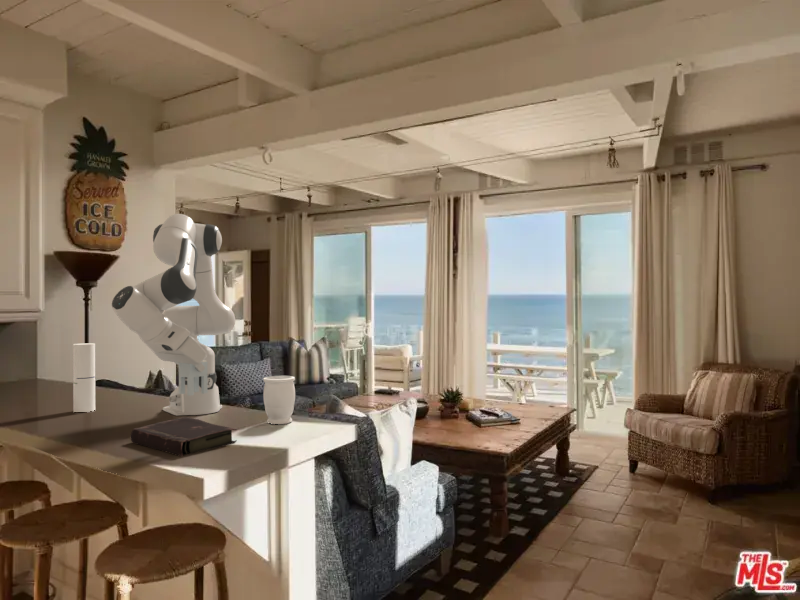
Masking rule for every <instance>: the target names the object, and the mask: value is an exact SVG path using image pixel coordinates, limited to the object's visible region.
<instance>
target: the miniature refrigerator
mask: <svg viewBox="0 0 800 600" xmlns="http://www.w3.org/2000/svg"><path fill="white" fill-rule="evenodd" d="M72 350H73V351H72V368H73V369H72V372H73V373H72V374H73V375H72V380H73V381H72V382H73V383H72V386H73V388H72V389H73V390H72V395H73V397H72V399H73V400H72V403H73V405H72V406H73V409H72V411H73V413H74V412H87V413H91V412H90V411H92V412H95V411H96V343H95V342H93V343H92V342H91V343H90V342H89V343H73V344H72ZM94 410H95V411H94Z"/></svg>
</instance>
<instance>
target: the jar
mask: <svg viewBox="0 0 800 600" xmlns="http://www.w3.org/2000/svg"><path fill="white" fill-rule="evenodd" d="M294 381H296V376H292V375H272V376H266V377H263V382H264V387H263V394H262V395H263V404H264V409H265V414H266V416H267V420H266V423H267V422H269V423H272V424H271V425H275V424H278V425H286V424H290V423H292V422H293V418H292V417H291V416H292V415H293V412H294V408H295V401H296V388H295V384H294ZM269 423H268V424H269Z"/></svg>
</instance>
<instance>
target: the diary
mask: <svg viewBox="0 0 800 600" xmlns="http://www.w3.org/2000/svg"><path fill="white" fill-rule="evenodd" d="M232 431H237V428H234V427H229V426H225V425H220V424H215V423H210V422H207V421H204V420H202V419H199V418H193V417H188V416H184V417H179V418H173V419H169V420H164V421H159V422H155V423H151V424H148V425H143V426H140V427H135V428H132V430H131V432H130V441H131V443H132V442H133V443H132V444H136V445H139V446H144V447H148V448H150V449H153V448H154V450H157V449H159V450H158V451H161V450H163V451H162V452H165V451H167V452H166V453H168V452H170V453H169V454H172V453H173V455H175V454H176V456H178V455H179V457H184V455H189V454H192V453H197V452H200V451H204V450H209V449H210V450H212V449H217V448H220V447H225V446H228V445H232V444H235V443H236V442H237V441H238V440H237V439H236V440H233V437H232V436H233V434H232ZM188 452H189V453H188Z"/></svg>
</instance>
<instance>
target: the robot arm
mask: <svg viewBox="0 0 800 600" xmlns="http://www.w3.org/2000/svg"><path fill="white" fill-rule="evenodd" d="M222 237H223V236H222V233H221V230H220V229H219V227H217V225H214V224H210V223H209V224H208V223H206V224H203V223H196V222H194V220H193V219H192V218H191V217H190V216H189V215H186V214H183V213H174V214H172V215H169V217H168V218H167V219H165V221H164V222H163V223H161V224H159V225H157V226H156V227H155V228H154V230H153V235H152V242H153V245H152V247H153V248H152V249H153V252H154V254H155V256H156V258H157V259H158V260H159V261H160V262H161V263H164V264H166V265H168V266H172V267H170V268H168V269H166V270H165V271H162V272H161V273H158V274H156V275H155V276H152V277H150V278H148V279H145V280H144V281H141V282H140V283H137V284H136V285H128V286H125V287H123V288H122V289H120V290H119V291H118V292H117V293H116V294H115V296H114V297H113V299H112V301H111V307H112V310H113V311H114V313H115V314H116V316H117V317H118V318H119V319H120V321H121V322H122V323H123V324H124V325H125V326H126V327H127V328H128V329H129V330H131V332H134V333H136V334H137V335H138V337H139V338H140V340H141V341H142V342H143V343H144V344H145V346H147V347H148V348H149V349H150V350H151V351H152V352H153V353H154V355H155V356H157V358H159V360H162V361H164V362H170V363H174V364H176V365H178V366H179V363H187V364H192V365H194V366H195V369H196V370H197V371H199V372H202V371H203V370H204V369H205V367H204V366H203V365H202V362H203V360H205V361H206V362H207V381H208V393H204V394H203V393H201V376H200V377H199V392H194V395H191V396H189V395H187V377H185V394H179V385H178V386H177V387H176V388H175V389H174V390H173V391H172V392H171V393H170V395H169V405H167V406H164V407H162V410H163V411H164V412H166V413H169V414H171V415H174V416H176V417H177V416H196V415H197V416H199V415H200V416H201V415H207V414H212V413H213V414H214V413H217V412H220V410H221V409H222V408H223V405H222V404H221V403H220V402H221V401H220V394H219V393H220V391H219V386H218V385H217V384H216V382H217V372H216V354H215V352H214V350H213V349H212V347H210V346H207V345H206V344H204V343H201V342H200V341H199V339H198V336H220V335H224V334H229V333H231V331H232V330H233V329H234V327H235V325H236V315H235V313H234V311H233V310H232V309H231V308H230V307H229V306H227V305H226V304H225V303H224V302H222V300H220V298H219V296H218V295H217V292H216V289H215V285H214V275H213V262H212V257H213V256H214V255H216V254H218V253H219V252H220V250H221V246H222V243H223V238H222ZM191 300H195V301H196V302H197V303H198V305H180V304H183V303H187V302H190V301H191Z"/></svg>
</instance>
